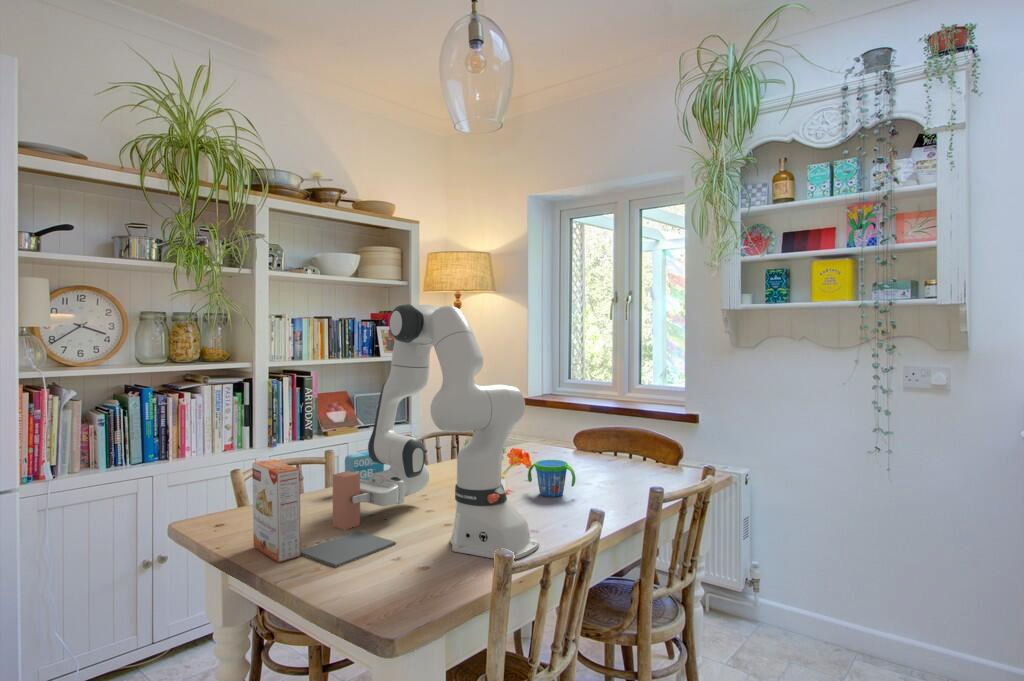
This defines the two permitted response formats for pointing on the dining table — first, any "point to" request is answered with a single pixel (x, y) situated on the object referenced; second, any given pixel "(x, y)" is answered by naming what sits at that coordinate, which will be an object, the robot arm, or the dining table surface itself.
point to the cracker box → (276, 509)
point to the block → (346, 500)
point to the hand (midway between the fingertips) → (343, 497)
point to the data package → (362, 465)
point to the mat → (346, 548)
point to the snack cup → (551, 476)
